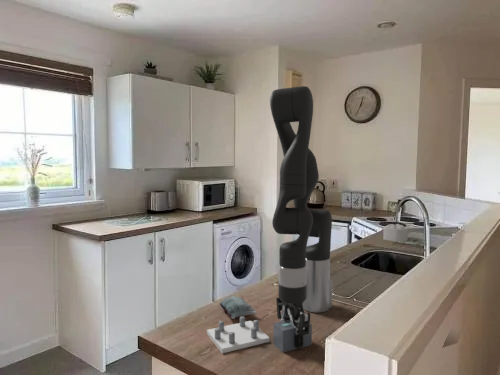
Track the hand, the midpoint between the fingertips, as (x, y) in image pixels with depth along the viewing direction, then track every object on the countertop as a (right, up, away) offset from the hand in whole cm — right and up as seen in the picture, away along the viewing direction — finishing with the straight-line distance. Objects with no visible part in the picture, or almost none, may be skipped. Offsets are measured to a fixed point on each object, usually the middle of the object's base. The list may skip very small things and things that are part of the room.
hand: (292, 341), depth 105 cm
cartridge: (0, -1, 0) cm, 1 cm away
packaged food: (-15, +1, +21) cm, 26 cm away
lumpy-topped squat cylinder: (+75, +11, +123) cm, 144 cm away
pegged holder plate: (-15, -1, +4) cm, 16 cm away
